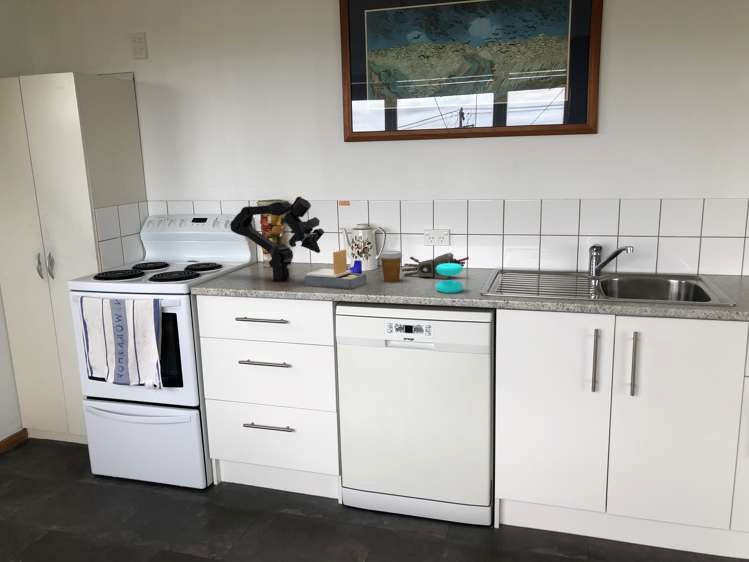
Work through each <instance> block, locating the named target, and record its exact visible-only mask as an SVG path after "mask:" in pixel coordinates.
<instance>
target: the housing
mask: <svg viewBox="0 0 749 562" xmlns="http://www.w3.org/2000/svg"><path fill="white" fill-rule="evenodd" d="M304 285H305V287H306V286H307V287H318V288H319V287H320V288H326V289H327V288H329V289H330V288H331V289H339V290H348V291H349V290H350V291H351V290H354V289H356V288H359V287H362V286H365V285H367V273H366V274H365V273H362V274H356V273H348V274H345V275H342V276H339V277H336V278H333V277H320V276H308V275H304Z"/></svg>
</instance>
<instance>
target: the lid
mask: <svg viewBox="0 0 749 562" xmlns="http://www.w3.org/2000/svg"><path fill="white" fill-rule="evenodd" d="M332 256H333V257H332V262H333V264H332V265H333V268H320V269H318V270H313V271H310V272H307V273H306V276H318V277H333V278H336V277H339V276H342V275H345V274H348V273H351V271H350V270H349V269H348V270H347V267H348V262H347V261H348V259H347V249H340V250H336V251H333V252H332Z"/></svg>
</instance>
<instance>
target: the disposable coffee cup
mask: <svg viewBox="0 0 749 562" xmlns="http://www.w3.org/2000/svg"><path fill="white" fill-rule="evenodd" d="M402 257H403V253H402V251H401V250H384V251H381V252H380V254H379V259H380V262H381V268H382V276H383V281H384V282H385V283H396V282H399V281H400V276H401V274H400V273H401V265H402Z"/></svg>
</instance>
